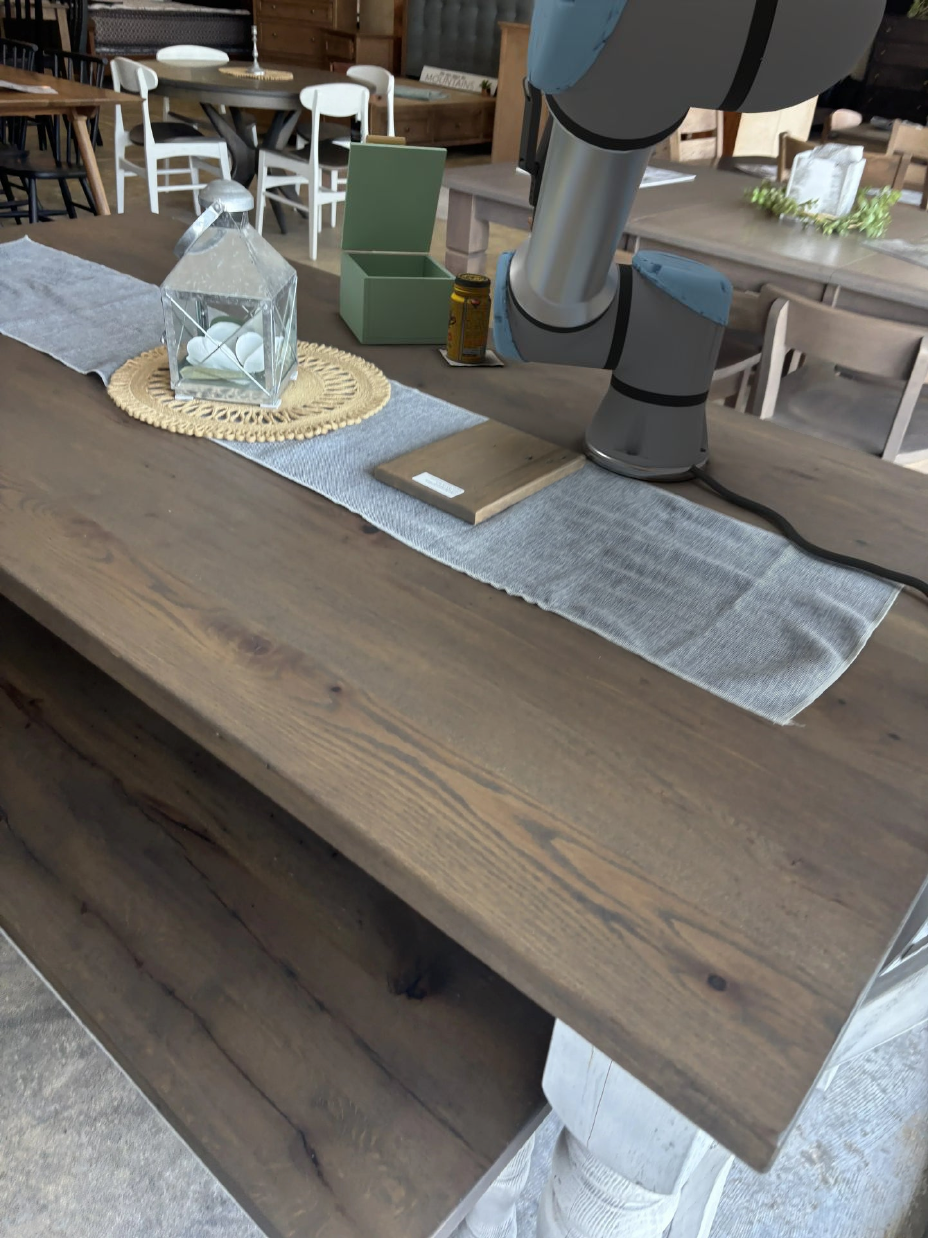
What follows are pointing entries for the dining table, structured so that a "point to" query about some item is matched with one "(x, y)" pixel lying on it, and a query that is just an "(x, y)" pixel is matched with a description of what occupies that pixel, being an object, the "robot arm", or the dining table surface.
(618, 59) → the robot arm
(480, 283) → the condiment
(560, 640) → the dining table surface
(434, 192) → the lid
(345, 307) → the chest
